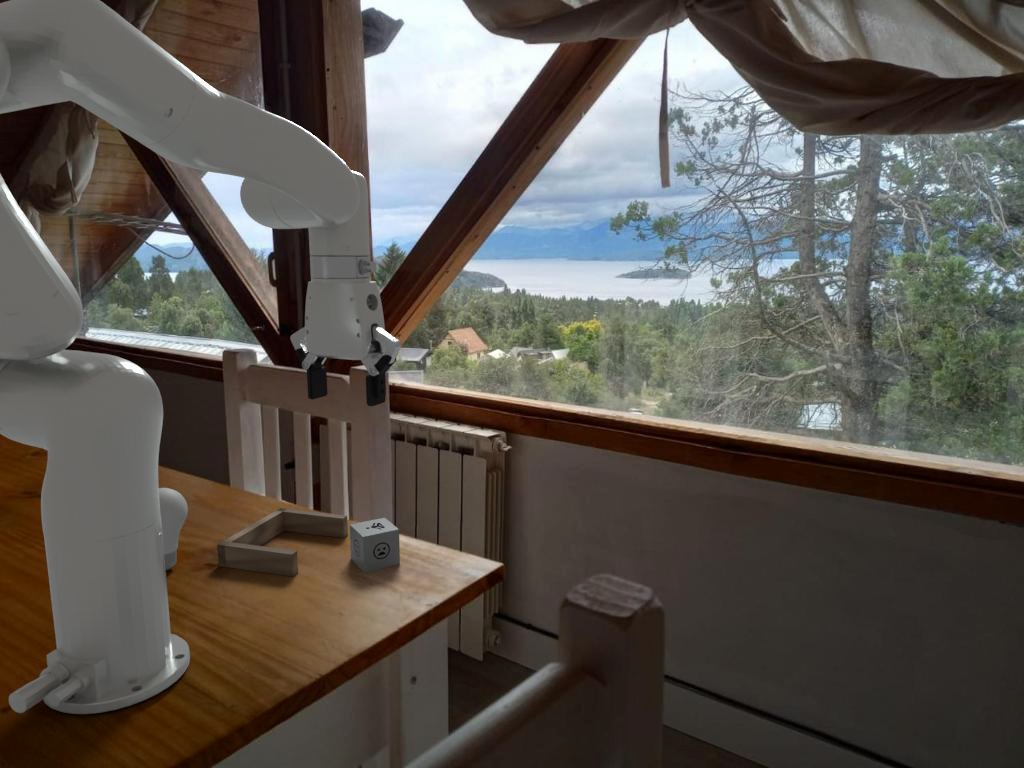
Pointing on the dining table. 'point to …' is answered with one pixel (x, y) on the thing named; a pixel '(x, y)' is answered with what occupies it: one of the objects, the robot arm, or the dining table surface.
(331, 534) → the box
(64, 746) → the dining table surface
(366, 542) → the dice cube
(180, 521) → the lightbulb
